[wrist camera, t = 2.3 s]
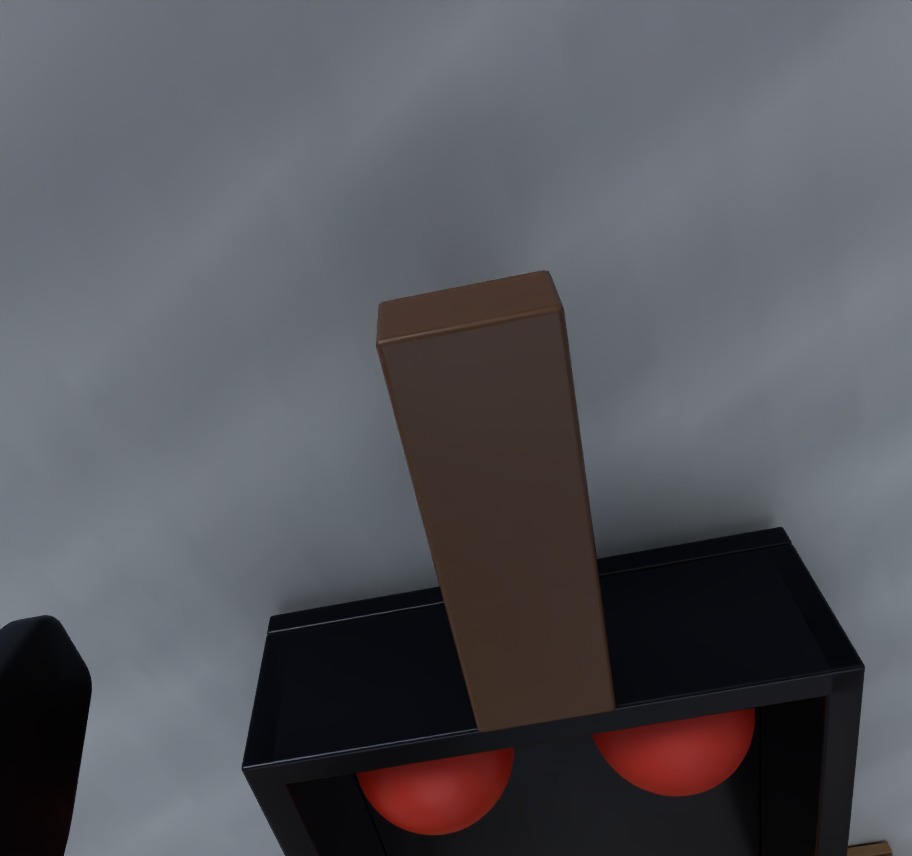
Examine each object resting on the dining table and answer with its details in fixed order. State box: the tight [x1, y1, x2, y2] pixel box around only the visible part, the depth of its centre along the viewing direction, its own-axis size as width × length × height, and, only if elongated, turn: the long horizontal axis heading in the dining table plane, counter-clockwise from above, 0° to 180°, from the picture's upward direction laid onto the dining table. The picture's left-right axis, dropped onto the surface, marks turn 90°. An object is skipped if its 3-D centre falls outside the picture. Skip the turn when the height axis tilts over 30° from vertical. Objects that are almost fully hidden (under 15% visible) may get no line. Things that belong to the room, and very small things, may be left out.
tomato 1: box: [356, 748, 514, 835], centre depth 16 cm, size 3×3×3 cm
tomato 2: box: [592, 708, 755, 796], centre depth 16 cm, size 3×3×3 cm
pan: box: [242, 270, 865, 856], centre depth 16 cm, size 18×10×4 cm, turn 11°
